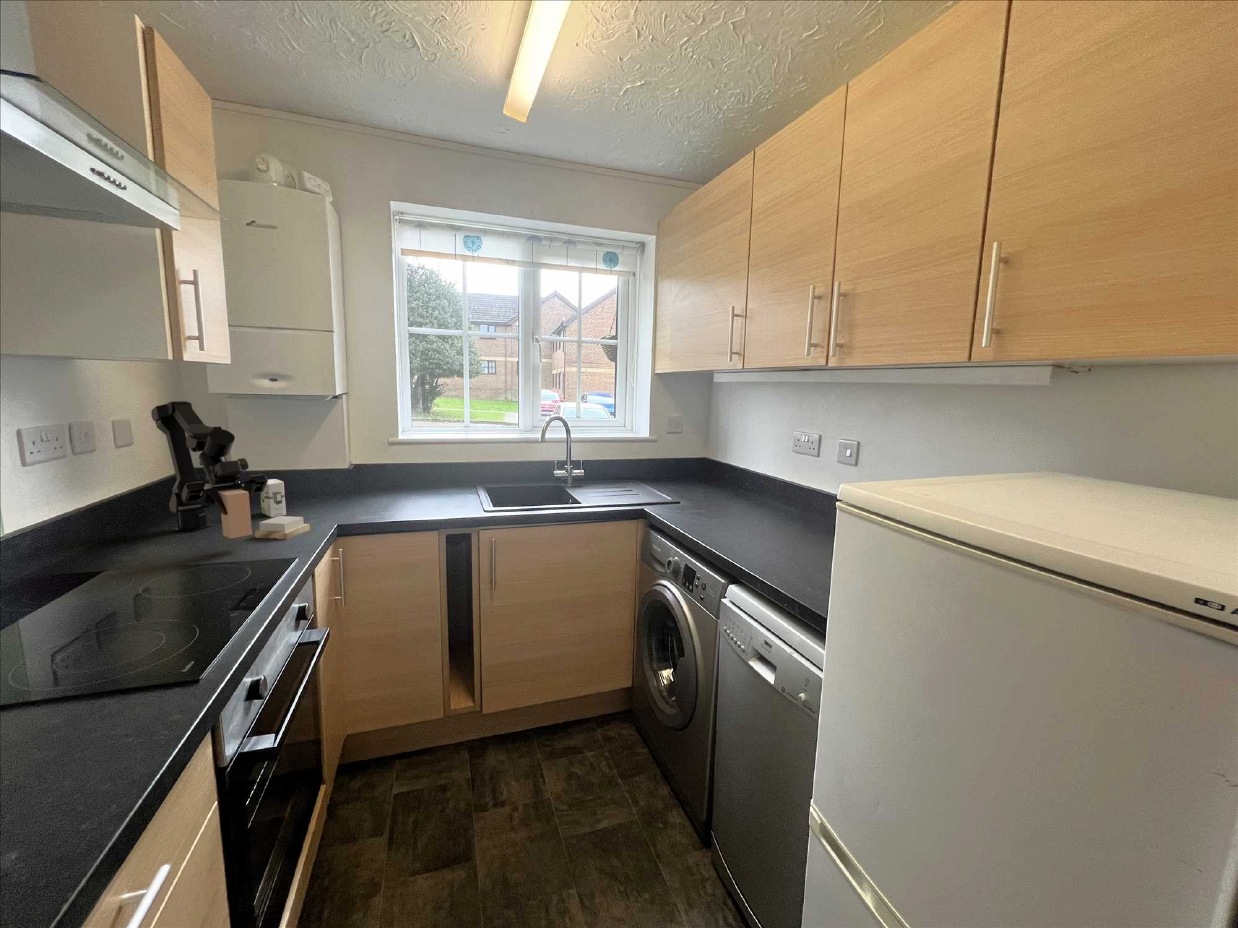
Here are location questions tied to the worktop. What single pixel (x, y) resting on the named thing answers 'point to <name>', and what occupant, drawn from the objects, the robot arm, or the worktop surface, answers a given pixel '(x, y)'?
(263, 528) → the top slab
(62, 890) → the worktop surface
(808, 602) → the worktop surface
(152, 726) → the worktop surface
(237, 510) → the pillar block
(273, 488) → the ink box
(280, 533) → the base slab
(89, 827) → the worktop surface
